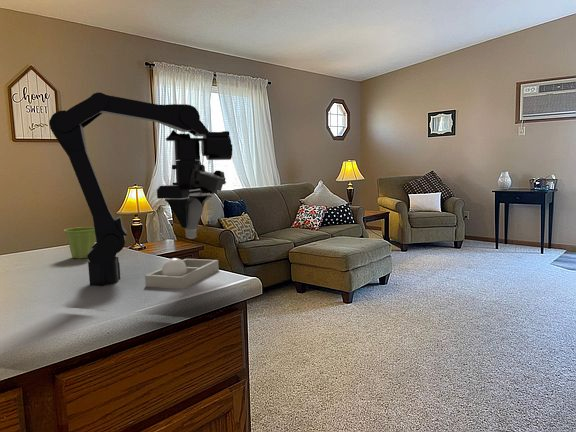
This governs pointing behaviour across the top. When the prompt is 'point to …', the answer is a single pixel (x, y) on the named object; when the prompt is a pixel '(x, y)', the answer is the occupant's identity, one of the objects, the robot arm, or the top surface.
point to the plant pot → (80, 241)
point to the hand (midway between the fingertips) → (190, 226)
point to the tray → (194, 273)
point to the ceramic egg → (174, 267)
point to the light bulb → (193, 218)
